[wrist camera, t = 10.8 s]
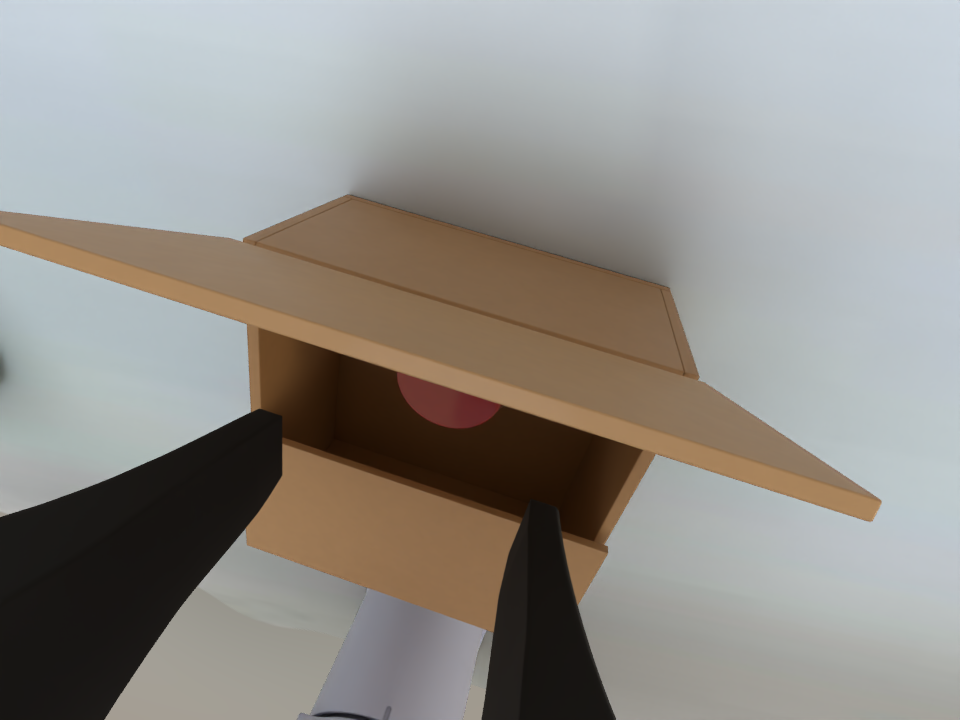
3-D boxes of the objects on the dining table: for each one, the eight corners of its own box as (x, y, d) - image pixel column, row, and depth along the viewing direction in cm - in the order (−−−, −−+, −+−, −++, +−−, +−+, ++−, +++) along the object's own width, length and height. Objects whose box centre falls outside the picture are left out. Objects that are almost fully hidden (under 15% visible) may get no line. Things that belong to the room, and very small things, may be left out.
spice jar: (516, 374, 20) (494, 449, 16) (428, 346, 21) (383, 413, 16) (543, 289, 18) (525, 350, 14) (444, 260, 19) (397, 311, 14)
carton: (347, 194, 19) (224, 244, 13) (670, 287, 18) (705, 391, 12) (330, 436, 25) (245, 545, 19) (563, 514, 24) (550, 654, 18)
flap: (227, 249, 13) (229, 238, 13) (700, 394, 12) (705, 382, 12) (-68, 224, 7) (-67, 202, 6) (873, 524, 6) (883, 501, 6)
